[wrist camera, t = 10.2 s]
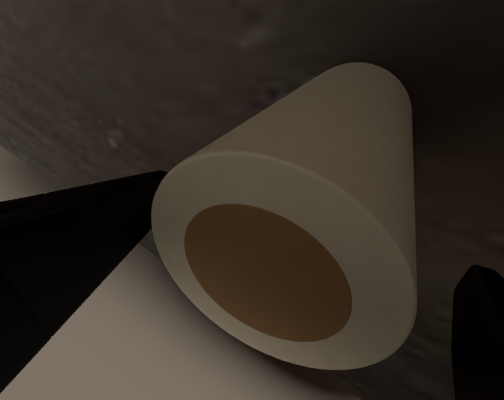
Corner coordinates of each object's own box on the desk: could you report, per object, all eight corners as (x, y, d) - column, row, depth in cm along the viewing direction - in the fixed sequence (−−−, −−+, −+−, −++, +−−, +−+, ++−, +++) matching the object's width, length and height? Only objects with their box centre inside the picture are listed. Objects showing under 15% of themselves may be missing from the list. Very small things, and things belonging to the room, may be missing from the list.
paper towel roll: (389, 182, 16) (432, 68, 12) (362, 406, 7) (498, 211, 3) (291, 159, 18) (304, 56, 14) (168, 306, 9) (123, 122, 5)
